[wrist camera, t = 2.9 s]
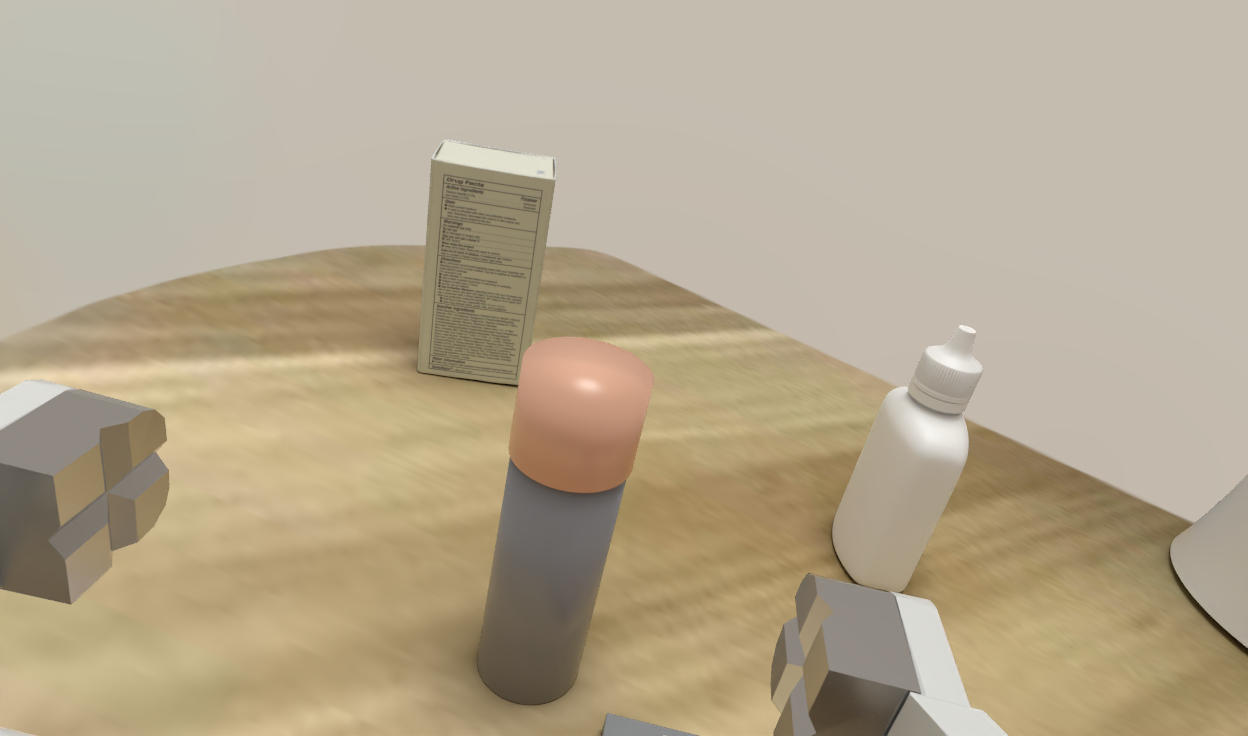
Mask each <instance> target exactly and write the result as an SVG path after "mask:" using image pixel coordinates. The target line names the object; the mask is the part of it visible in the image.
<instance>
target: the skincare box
mask: <svg viewBox="0 0 1248 736" xmlns="http://www.w3.org/2000/svg"><path fill="white" fill-rule="evenodd" d="M555 179H556V160H555V158H554V157H547V156H541V155H536V154H529V153H522V152H516V151H510V150H505V149H498V148H493V147H486V146H481V145H474V144H468V143H462V142H458V141H451V140H443V142H442V143H441V144H440V146H439V147H438V149H437V150H436V152H435V153H434V155H433V157H432V159H431V174H430V191H429V205H428V219H427V236H426V249H425V263H424V277H423V292H422V308H421V320H420V335H419V351H418V365H417V370H418V371H419V372H422V373H429V374H436V375H443V376H449V377H457V378H466V379H473V380H481V381H487V382H494V383H505V384H514V385H518V384H519V378H520V372H521V366H522V360H523V355H524V353H525V351H526V350H527V349H528V348H529V347H530V346H531V343H532V337H533V330H534V324H535V317H536V310H537V303H538V296H539V289H540V282H541V275H542V269H543V262H544V255H545V248H546V242H547V235H548V228H549V220H550V214H551V207H552V200H553V193H554V187H555Z"/></svg>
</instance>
